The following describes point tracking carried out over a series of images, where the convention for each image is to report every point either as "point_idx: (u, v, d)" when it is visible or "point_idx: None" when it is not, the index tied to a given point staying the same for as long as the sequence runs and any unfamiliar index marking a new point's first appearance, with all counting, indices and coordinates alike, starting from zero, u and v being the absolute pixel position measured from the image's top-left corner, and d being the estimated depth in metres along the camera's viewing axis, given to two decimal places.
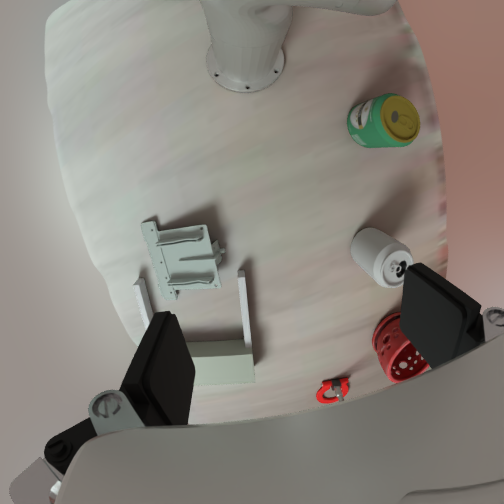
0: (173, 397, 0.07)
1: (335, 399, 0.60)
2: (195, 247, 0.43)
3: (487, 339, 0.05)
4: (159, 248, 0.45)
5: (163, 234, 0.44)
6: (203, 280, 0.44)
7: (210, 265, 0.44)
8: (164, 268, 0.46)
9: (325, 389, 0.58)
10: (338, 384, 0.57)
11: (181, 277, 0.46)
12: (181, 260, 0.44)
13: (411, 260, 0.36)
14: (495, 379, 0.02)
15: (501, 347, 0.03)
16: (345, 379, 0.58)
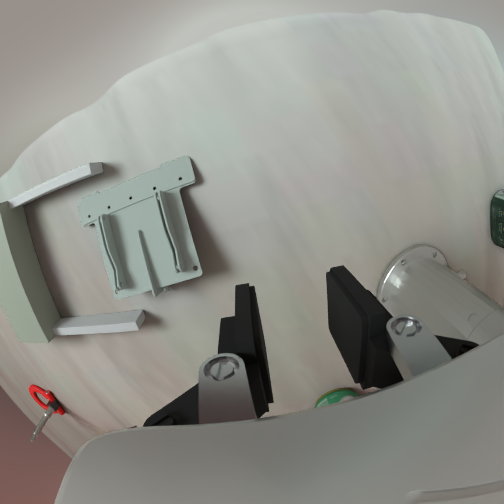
0: (266, 360, 0.08)
1: (38, 401, 0.39)
2: (164, 258, 0.27)
3: (405, 355, 0.05)
4: (152, 193, 0.27)
5: (174, 200, 0.27)
6: (119, 278, 0.26)
7: (142, 283, 0.28)
8: (122, 203, 0.27)
9: (43, 395, 0.37)
10: (55, 408, 0.37)
11: (114, 234, 0.27)
12: (139, 237, 0.27)
13: None
14: (495, 379, 0.02)
15: (501, 347, 0.03)
16: (62, 411, 0.39)
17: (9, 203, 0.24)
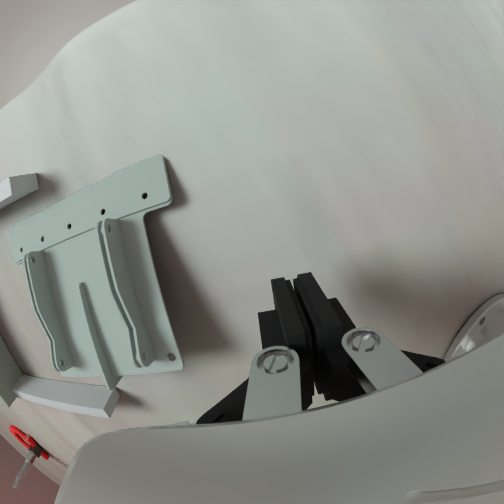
0: None
1: (21, 441, 0.27)
2: (120, 334, 0.15)
3: (368, 373, 0.05)
4: (99, 221, 0.14)
5: (134, 235, 0.14)
6: (57, 354, 0.14)
7: (93, 364, 0.15)
8: (58, 235, 0.15)
9: (24, 438, 0.26)
10: (37, 454, 0.25)
11: (50, 282, 0.15)
12: (81, 295, 0.14)
13: None
14: (495, 379, 0.02)
15: (501, 347, 0.03)
16: (46, 456, 0.27)
17: None
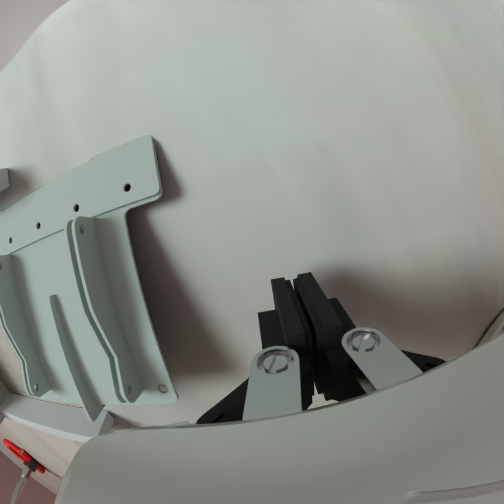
0: None
1: (15, 454, 0.23)
2: (100, 358, 0.11)
3: (368, 373, 0.05)
4: (71, 219, 0.11)
5: (114, 238, 0.11)
6: (31, 378, 0.10)
7: (72, 389, 0.11)
8: (27, 236, 0.11)
9: (18, 452, 0.22)
10: (33, 469, 0.21)
11: (20, 293, 0.11)
12: (52, 311, 0.11)
13: None
14: (495, 379, 0.02)
15: (501, 347, 0.03)
16: (42, 470, 0.23)
17: None
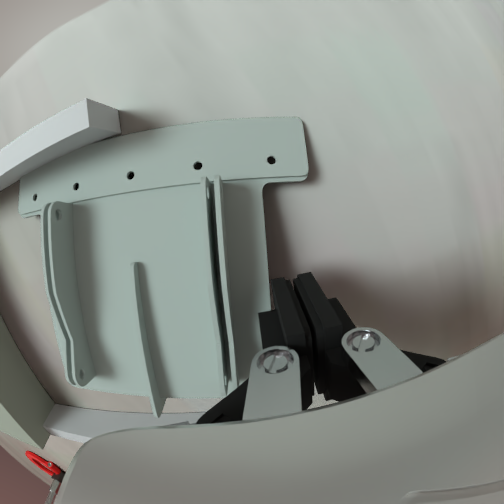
0: None
1: (39, 466, 0.23)
2: (189, 344, 0.11)
3: (368, 373, 0.05)
4: (188, 177, 0.11)
5: (246, 209, 0.11)
6: (77, 362, 0.10)
7: (129, 379, 0.11)
8: (107, 185, 0.10)
9: (45, 465, 0.21)
10: None
11: (76, 253, 0.11)
12: (134, 282, 0.10)
13: None
14: (495, 379, 0.02)
15: (501, 347, 0.03)
16: None
17: None
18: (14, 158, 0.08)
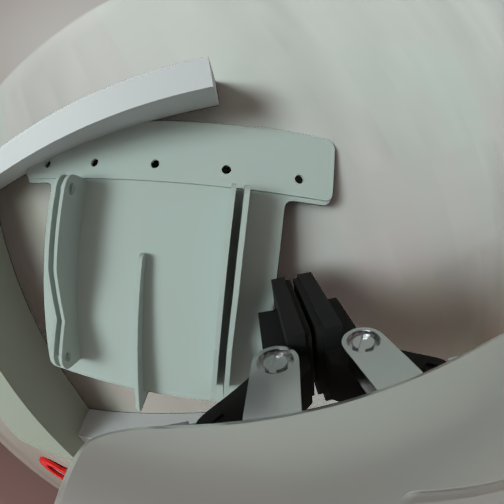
0: None
1: (54, 473, 0.23)
2: (184, 344, 0.11)
3: (368, 373, 0.05)
4: (214, 179, 0.11)
5: (265, 222, 0.11)
6: (65, 344, 0.09)
7: (115, 368, 0.11)
8: (128, 168, 0.10)
9: (62, 472, 0.21)
10: None
11: (82, 232, 0.10)
12: (140, 274, 0.10)
13: None
14: (495, 379, 0.02)
15: (501, 347, 0.03)
16: None
17: None
18: (92, 114, 0.07)
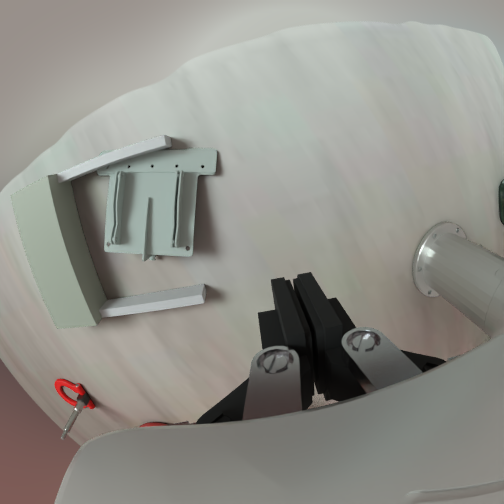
0: None
1: (64, 397, 0.41)
2: (163, 230, 0.29)
3: (368, 373, 0.05)
4: (173, 169, 0.29)
5: (191, 183, 0.29)
6: (116, 233, 0.28)
7: (135, 245, 0.29)
8: (142, 168, 0.29)
9: (72, 388, 0.40)
10: (85, 402, 0.39)
11: (125, 192, 0.29)
12: (147, 203, 0.29)
13: None
14: (495, 379, 0.02)
15: (501, 347, 0.03)
16: (92, 405, 0.41)
17: (58, 176, 0.26)
18: (128, 153, 0.26)
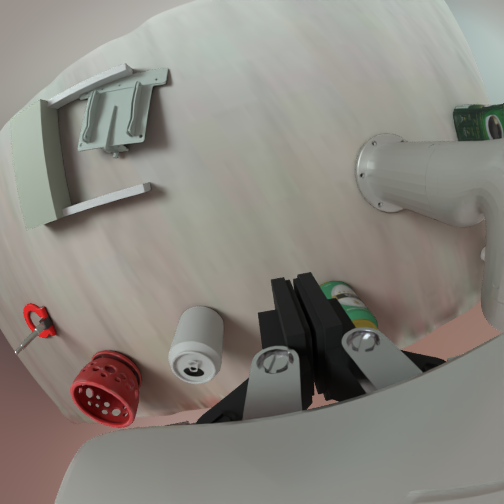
0: None
1: (30, 326, 0.43)
2: (123, 126, 0.31)
3: (368, 373, 0.05)
4: (134, 85, 0.31)
5: (147, 91, 0.31)
6: (87, 132, 0.30)
7: (101, 141, 0.31)
8: (112, 88, 0.31)
9: (37, 312, 0.42)
10: (46, 326, 0.42)
11: (98, 106, 0.31)
12: (113, 109, 0.31)
13: (206, 380, 0.34)
14: (495, 379, 0.02)
15: (501, 347, 0.03)
16: (53, 331, 0.44)
17: (48, 102, 0.28)
18: (99, 78, 0.28)
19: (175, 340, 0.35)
